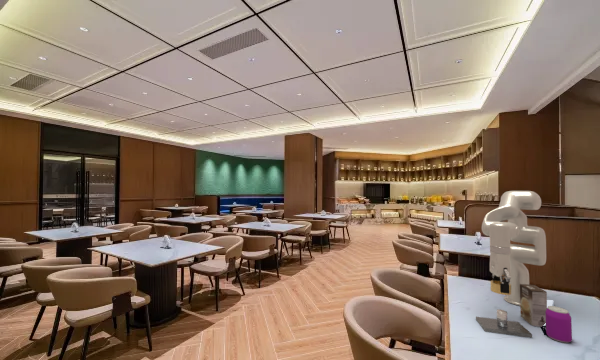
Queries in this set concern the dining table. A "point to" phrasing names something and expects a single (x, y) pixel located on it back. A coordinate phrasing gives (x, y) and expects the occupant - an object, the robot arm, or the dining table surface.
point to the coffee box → (533, 304)
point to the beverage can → (558, 324)
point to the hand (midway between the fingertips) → (500, 289)
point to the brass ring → (498, 287)
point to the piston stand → (503, 325)
